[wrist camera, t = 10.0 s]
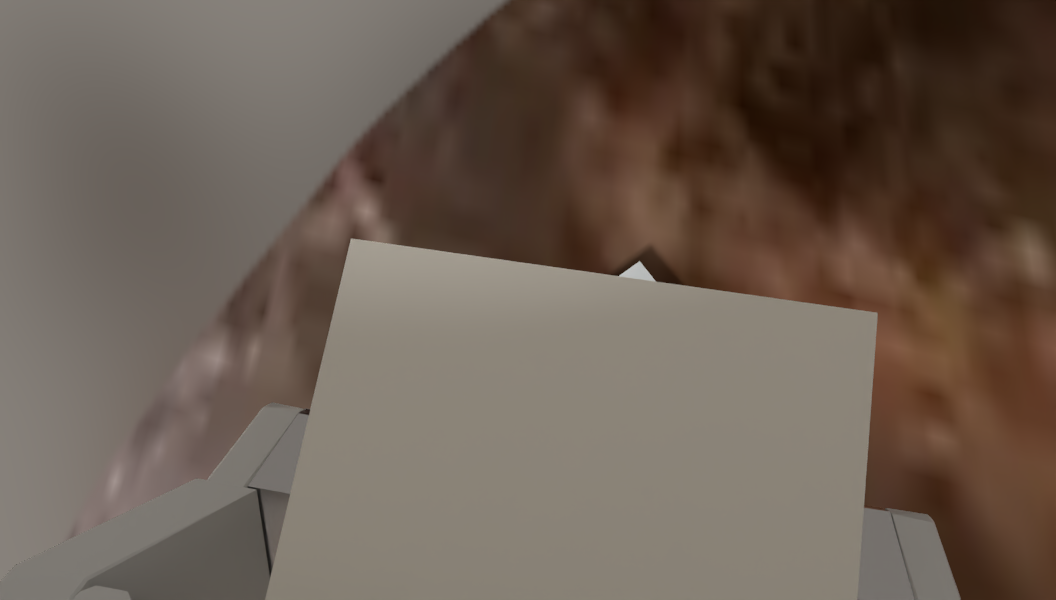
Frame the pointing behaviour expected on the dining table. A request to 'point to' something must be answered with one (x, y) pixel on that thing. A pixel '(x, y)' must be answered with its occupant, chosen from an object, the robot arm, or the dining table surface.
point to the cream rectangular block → (576, 439)
